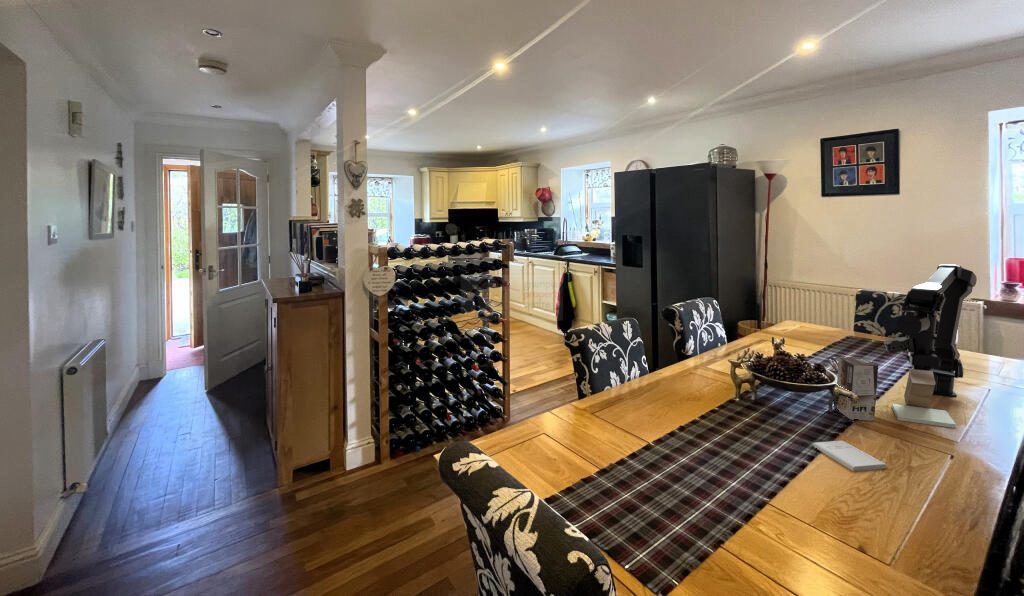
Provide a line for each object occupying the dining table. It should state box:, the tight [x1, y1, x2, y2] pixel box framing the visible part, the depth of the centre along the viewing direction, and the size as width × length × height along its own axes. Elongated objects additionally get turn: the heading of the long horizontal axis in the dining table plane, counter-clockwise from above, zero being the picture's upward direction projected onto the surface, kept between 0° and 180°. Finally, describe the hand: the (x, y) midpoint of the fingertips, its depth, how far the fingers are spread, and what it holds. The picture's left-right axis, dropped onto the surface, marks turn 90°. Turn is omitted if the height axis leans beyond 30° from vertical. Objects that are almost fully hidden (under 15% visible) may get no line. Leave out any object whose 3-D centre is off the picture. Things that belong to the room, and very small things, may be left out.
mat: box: [891, 403, 957, 429], centre depth 132 cm, size 11×12×1 cm
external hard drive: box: [812, 440, 887, 472], centre depth 111 cm, size 2×8×12 cm
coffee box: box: [836, 356, 880, 422], centre depth 135 cm, size 9×6×16 cm
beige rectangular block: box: [903, 368, 935, 409], centre depth 137 cm, size 5×5×11 cm
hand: (917, 382), depth 139 cm, fingers closed
